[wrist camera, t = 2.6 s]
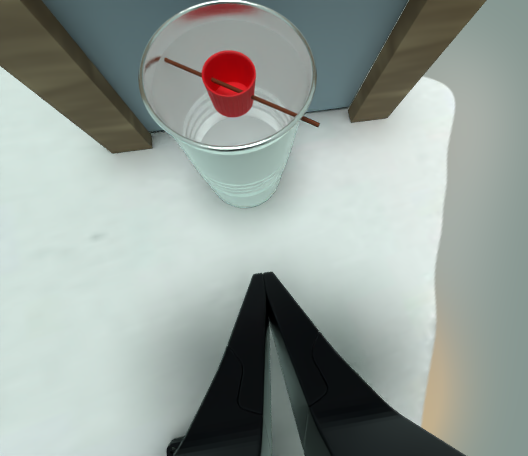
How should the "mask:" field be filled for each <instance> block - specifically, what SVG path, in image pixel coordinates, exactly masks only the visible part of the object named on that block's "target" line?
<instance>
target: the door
mask: <svg viewBox="0 0 528 456" xmlns="http://www.w3.org/2000/svg"><path fill="white" fill-rule="evenodd" d="M42 1H43V3H44V4H45V5H46V6H47V8H48V9H49V10H50V11H51V13H52V14H53V15H54V16H55V17H56V19H57V20H58V21H59V22H60V24H61V25H62V26H63V27H64V28H65V30H66V31H67V32H68V33H69V35H70V36H71V37H72V38H73V40H74V41H75V42H76V43H77V44H78V46H79V47H80V48H81V49H82V51H83V52H84V53H85V54H86V56H87V57H88V58H89V59H90V60H91V62H92V63H93V64H94V65H95V67H96V68H97V69H98V70H99V71H100V73H101V74H102V75H103V76H104V78H105V79H106V80H107V81H108V83H109V84H110V85H111V86H112V87H113V89H114V90H115V91H116V92H117V94H118V95H119V96H120V97H121V99H122V100H123V101H124V102H125V103H126V105H127V106H128V107H129V108H130V110H131V111H132V112H133V113H134V114H135V116H136V117H137V118H138V119H139V121H140V122H141V123H142V124H143V126H144V127H145V128H146V129H147V130H148V132H151V131H159V130H163V129H162V128H161V127H160V126H159V125H158V124H157V123H156V122H155V121H154V119H153V118H152V117H151V115H150V114H149V112H148V111H147V109H146V107H145V105H144V103H143V100H142V97H141V94H140V90H139V83H138V69H139V63H140V58H141V55H142V52H143V50H144V48H145V45H146V43H147V42H148V40H149V38H150V37H151V35H152V34H153V33H154V32H155V30H156V29H157V28H158V27H159V26H160V25H161V24H162V23H163V22H164V21H166V20H167V19H168V18H169V17H171V16H172V15H174V14H175V13H177V12H179V11H180V10H182V9H184V8H186V7H189V6H191V5H194V4H197V3H200V2H204V1H208V0H42ZM248 1H253V2H256V3H260V4H263V5H265V6H268V7H270V8H272V9H274V10H276V11H278V12H280V13H281V14H283V15H284V16H286V17H287V18H288V19H289V20H291V21H292V22H293V23H294V24H295V25H296V26H297V27H298V28H299V29H300V31H301V32H302V33H303V34H304V36H305V37H306V39H307V41H308V42H309V44H310V46H311V49H312V51H313V54H314V57H315V61H316V67H317V83H316V89H315V93H314V96H313V99H312V101H311V104H310V106H309V107H308V109H307V111H306V112H310V111H318V110H326V109H334V108H342V107H350V105H351V103H352V101H353V99H354V98H355V96H356V94H357V92H358V90H359V89H360V87H361V85H362V83H363V81H364V80H365V78H366V76H367V74H368V72H369V71H370V69H371V67H372V65H373V63H374V62H375V60H376V58H377V56H378V54H379V53H380V51H381V49H382V47H383V45H384V44H385V42H386V40H387V38H388V36H389V34H390V33H391V31H392V29H393V27H394V25H395V24H396V22H397V20H398V18H399V16H400V15H401V12H402V11H403V9H404V7H405V6H406V4H407V2H408V0H248Z"/></svg>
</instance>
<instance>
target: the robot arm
mask: <svg viewBox="0 0 528 456" xmlns="http://www.w3.org/2000/svg"><path fill="white" fill-rule="evenodd" d="M268 316H269V317H268ZM269 323H270V327H271V331H272V335H273V339H274V342H275V346H276V350H277V354H278V357H279V361H280V365H281V369H282V372H283V376H284V380H285V384H286V387H287V391H288V395H289V399H290V402H291V406H292V410H293V414H294V417H295V421H296V425H297V429H298V432H299V436H300V440H301V444H302V447H303V450H304V455H305V456H466V455H464V454H463V453H461V452H459V451H458V450H456V449H455V448H453V447H452V446H450V445H448V444H446V443H445V442H444V441H442V440H440V439H439V438H437V437H436V436H434V435H432V434H431V433H429V432H427V431H426V430H424V429H423V428H421V427H420V426H418V425H416V424H415V423H413V422H412V421H410V420H408V419H407V418H405V417H404V416H402V415H401V414H399V413H398V412H397V411H395V410H394V409H393V408H392V407H390V406H389V405H388V404H387V403H386V402H385V401H384V400H383V399H382V398H381V397H380V396H379V395H378V394H377V393H376V392H375V391H374V390H373V389H372V388H371V387H370V386H369V385H368V384H367V383H366V382H365V381H364V380H363V379H362V378H361V377H360V376H359V375H358V374H357V373H356V372H355V371H354V370H353V369H352V368H351V367H350V366H349V365H348V364H347V363H346V362H345V361H344V359H343V358H342V357H341V356H340V355H339V354H338V353H337V352H336V351H335V350H334V348H333V347H332V346H331V345H330V344H329V342H328V341H327V340H326V339H325V338H324V336H323V335H322V334H321V332H319V330H318V329H317V328H316V326H315V325H314V324H313V322H312V321H311V320H310V319H309V317H308V316H307V315H306V314H305V312H304V311H303V310H302V309H301V307H300V306H299V305H298V303H297V302H296V301H295V300H294V298H293V297H292V296H291V295H290V293H289V292H288V291H287V290H286V288H285V287H284V286H283V284H282V283H281V282H280V281H279V279H278V278H277V277H276V276H275V274H274V273H273V272H265V273H263V274H262V273H258V274H254V275H253V276H252V279H251V282H250V285H249V287H248V290H247V293H246V295H245V298H244V301H243V304H242V306H241V309H240V312H239V314H238V317H237V320H236V323H235V325H234V328H233V331H232V334H231V336H230V339H229V342H228V346H227V347H226V350H225V352H224V355H223V358H222V360H221V363H220V365H219V367H218V370H217V372H216V374H215V377H214V379H213V381H212V383H211V385H210V387H209V389H208V391H207V393H206V395H205V397H204V399H203V401H202V403H201V405H200V407H199V409H198V411H197V413H196V415H195V417H194V419H193V421H192V423H191V425H190V427H189V429H188V431H187V433H186V435H185V437H184V438H179V439H174V440H172V441H171V442H170V443H169V445H168V447H167V456H272V430H271V380H270V330H269ZM172 447H175V448H176V450H173V449H172Z"/></svg>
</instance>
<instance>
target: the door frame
mask: <svg viewBox="0 0 528 456" xmlns="http://www.w3.org/2000/svg"><path fill="white" fill-rule="evenodd" d="M485 1H486V0H409V2H408V3H407V5H406V7H405V9H404V11H403V12H402V14H401V16H400V18H399V20H398V21H397V23H396V25H395V27H394V29H393V30H392V32H391V34H390V36H389V38H388V39H387V41H386V43H385V45H384V47H383V48H382V50H381V52H380V54H379V55H378V57H377V59H376V61H375V63H374V64H373V66H372V68H371V70H370V72H369V73H368V75H367V77H366V79H365V81H364V82H363V84H362V86H361V88H360V90H359V91H358V93H357V95H356V97H355V99H354V100H353V102H352V104H351V106H350V108H349V109H348V113H349V116H350V120H351V123H352V122H360V121H368V120H375V119H383V118H388V116H389V115H390V114H391V113H392V112H393V110H394V109H395V108H396V107H397V106H398V104H399V103H400V102H401V101H402V100H403V99H404V97H405V96H406V95H407V94H408V93H409V91H410V90H411V89H412V88H413V87H414V86H415V84H416V83H417V82H418V81H419V80H420V78H421V77H422V76H423V75H424V74H425V72H426V71H427V70H428V69H429V68H430V67H431V65H432V64H433V63H434V62H435V61H436V60H437V58H438V57H439V56H440V55H441V54H442V52H443V51H444V50H445V49H446V48H447V47H448V45H449V44H450V43H451V42H452V41H453V39H454V38H455V37H456V36H457V34H459V32H460V31H461V30H462V29H463V27H464V26H465V25H466V24H467V23H468V22H469V21H470V19H471V18H472V17H473V16H474V14H475V13H476V12H477V11H478V10H479V8H481V6H482V5H483V4H484V3H485ZM0 66H1V67H2V68H4V69H5V70H6V71H7V72H9V73H10V74H11V75H13V76H14V77H15V78H16V79H18V80H19V81H20V82H22V83H23V84H24V85H25V86H27V87H28V88H29V89H30V90H32V91H33V92H34V93H36V94H37V95H38V96H39V97H41V98H42V99H43V100H45V101H46V102H47V103H48V104H50V105H51V106H52V107H54V108H55V109H56V110H57V111H59V112H60V113H61V114H63V115H64V116H65V117H66V118H68V119H69V120H70V121H72V122H73V123H74V124H75V125H77V126H78V127H79V128H80V129H82V130H83V131H84V132H86V133H87V134H88V135H89V136H91V137H92V138H93V139H95V140H96V141H97V142H98V143H100V144H101V145H102V146H104V147H105V148H106V149H107V150H109V151H110V152H111V153H119V152H127V151H135V150H143V149H150V148H152V138H151V134H150V133H149V132H148V130H147V129H146V128H145V127H144V126H143V124H142V123H141V122H140V121H139V119H138V118H137V117H136V116H135V114H134V113H133V112H132V111H131V110H130V108H129V107H128V106H127V105H126V103H125V102H124V101H123V100H122V99H121V97H120V96H119V95H118V94H117V92H116V91H115V90H114V89H113V87H112V86H111V85H110V84H109V83H108V81H107V80H106V79H105V78H104V76H103V75H102V74H101V73H100V71H99V70H98V69H97V68H96V67H95V65H94V64H93V63H92V62H91V60H90V59H89V58H88V57H87V56H86V54H85V53H84V52H83V51H82V49H81V48H80V47H79V46H78V44H77V43H76V42H75V41H74V40H73V38H72V37H71V36H70V35H69V33H68V32H67V31H66V30H65V28H64V27H63V26H62V25H61V24H60V22H59V21H58V20H57V19H56V17H55V16H54V15H53V14H52V13H51V11H50V10H49V9H48V8H47V6H46V5H45V4H44V3H43V1H42V0H0Z"/></svg>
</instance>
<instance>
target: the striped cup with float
mask: <svg viewBox="0 0 528 456" xmlns="http://www.w3.org/2000/svg"><path fill="white" fill-rule="evenodd" d="M138 83H139V90H140V94H141V97H142V100H143V103H144V105H145V107H146V109H147V111H148V112H149V114H150V115H151V117H152V118H153V119H154V121H155V122H156V123H157V124H158V125H159V126H160V127H161V128H162V129H163V130H164V131H166V132H167V133H168V134H169V135H171V136H173V137H174V139H175V140H176V141H177V143H178V144H179V146H180V147H181V148H182V150H183V151H184V152H185V154H186V155H187V157H188V159H189V160H190V162H191V163H192V164H193V165H194V167H195V168H196V169H197V171H198V172H199V173H200V175H201V176H202V177H203V178H204V179H205V180H206V181H207V183H208V184H209V185H210V186H211V188H212V189H213V190H214V192H215V193H216V194H217V195H218V197H219V198H220V199H222V200H223V201H224V202H226V203H228V204H230V205H232V206H235V207H240V208H250V207H254V206H257V205H260V204H262V203H264V202H265V201H266V200H268V199H269V198H270V197H271V196H272V195H273V193H274V192H275V190H276V188H277V186H278V183H279V180H280V178H281V175H282V172H283V170H284V168H285V165H286V163H287V160H288V157H289V154H290V151H291V148H292V145H293V141H294V137H295V134H296V131H297V128H298V125H299V122H300V120H302V121H305V122H307V123H309V124H312V125H314V126H316V127H318V126H319V124H320V123H318V122H316V121H314V120H311V119H309V118H306V117H304V116H303V115H304V114H305V113H306V111H307V109H308V107H309V106H310V104H311V101H312V99H313V96H314V93H315V89H316V83H317V67H316V61H315V57H314V54H313V51H312V49H311V46H310V44H309V42H308V41H307V39H306V37H305V36H304V34H303V33H302V32H301V31H300V29H299V28H298V27H297V26H296V25H295V24H294V23H293V22H292V21H291V20H289V19H288V18H287V17H286V16H284V15H283V14H281V13H280V12H278V11H276V10H274V9H272V8H270V7H268V6H265V5H263V4H260V3H256V2H253V1H248V0H208V1H204V2H200V3H197V4H194V5H191V6H189V7H186V8H184V9H182V10H180V11H179V12H177V13H175V14H174V15H172V16H171V17H169V18H168V19H167V20H166V21H164V22H163V23H162V24H161V25H160V26H159V27H158V28H157V29H156V30H155V32H154V33H153V34H152V35H151V37H150V38H149V40H148V42H147V43H146V45H145V48H144V50H143V52H142V55H141V58H140V63H139V69H138Z"/></svg>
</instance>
